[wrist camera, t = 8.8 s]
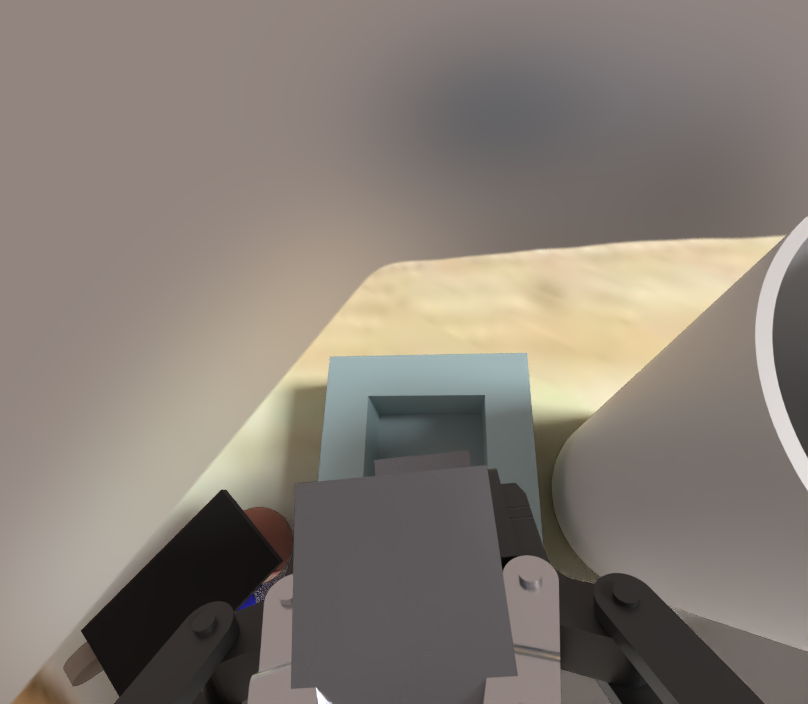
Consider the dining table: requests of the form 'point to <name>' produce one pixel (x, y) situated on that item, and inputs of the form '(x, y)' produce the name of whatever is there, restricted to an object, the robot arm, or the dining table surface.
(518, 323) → the dining table surface
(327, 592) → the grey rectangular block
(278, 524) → the figurine character
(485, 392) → the well block
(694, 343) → the cylinder vase
